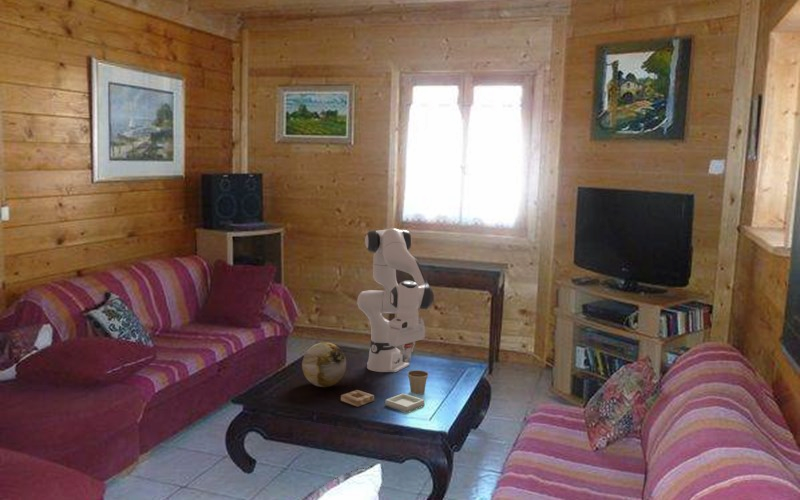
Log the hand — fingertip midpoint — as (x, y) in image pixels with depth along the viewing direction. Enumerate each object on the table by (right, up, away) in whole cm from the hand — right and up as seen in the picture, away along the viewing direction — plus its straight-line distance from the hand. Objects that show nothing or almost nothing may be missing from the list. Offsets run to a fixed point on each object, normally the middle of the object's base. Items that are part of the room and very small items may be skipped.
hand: (406, 353), depth 282 cm
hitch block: (-21, -21, +7) cm, 31 cm away
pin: (0, -4, 0) cm, 4 cm away
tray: (-1, -23, +3) cm, 23 cm away
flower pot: (+5, -21, +20) cm, 29 cm away
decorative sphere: (-37, -19, +24) cm, 48 cm away
